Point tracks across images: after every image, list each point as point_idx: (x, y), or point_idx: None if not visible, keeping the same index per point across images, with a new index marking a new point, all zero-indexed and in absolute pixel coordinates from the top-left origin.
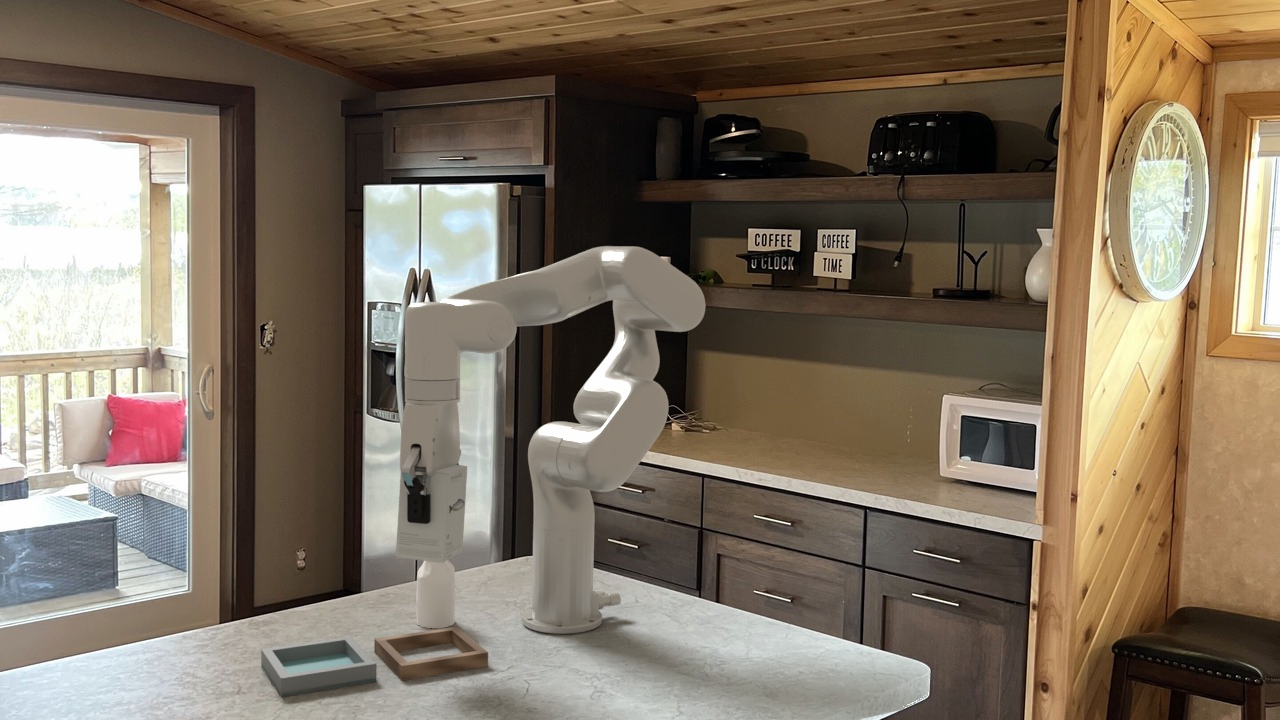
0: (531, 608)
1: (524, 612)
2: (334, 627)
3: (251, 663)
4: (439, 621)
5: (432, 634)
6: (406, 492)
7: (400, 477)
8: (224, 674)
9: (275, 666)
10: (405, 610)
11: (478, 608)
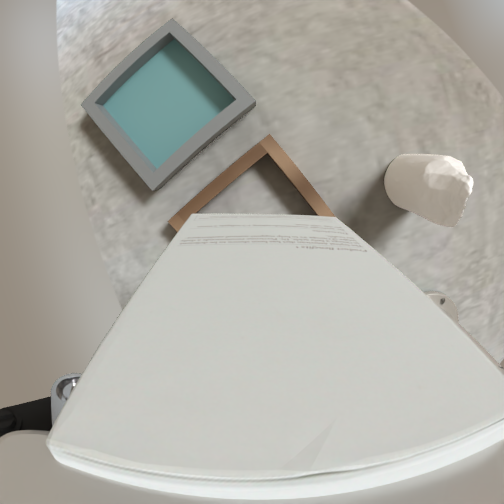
0: (444, 298)
1: (430, 296)
2: (355, 48)
3: (188, 12)
4: (391, 195)
5: (315, 211)
6: (62, 380)
7: (77, 384)
8: (147, 9)
9: (114, 71)
10: (442, 125)
11: (461, 221)
